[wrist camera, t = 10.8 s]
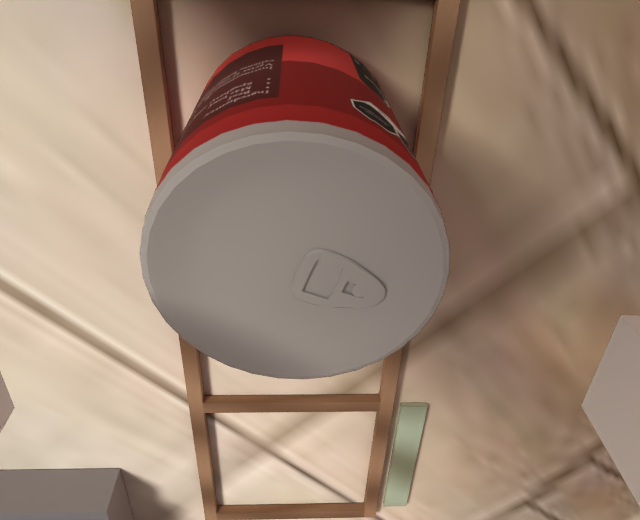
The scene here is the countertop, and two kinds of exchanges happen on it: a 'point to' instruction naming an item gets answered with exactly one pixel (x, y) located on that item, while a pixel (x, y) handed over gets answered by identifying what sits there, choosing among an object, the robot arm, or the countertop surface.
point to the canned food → (294, 218)
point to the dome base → (63, 495)
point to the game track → (409, 418)
